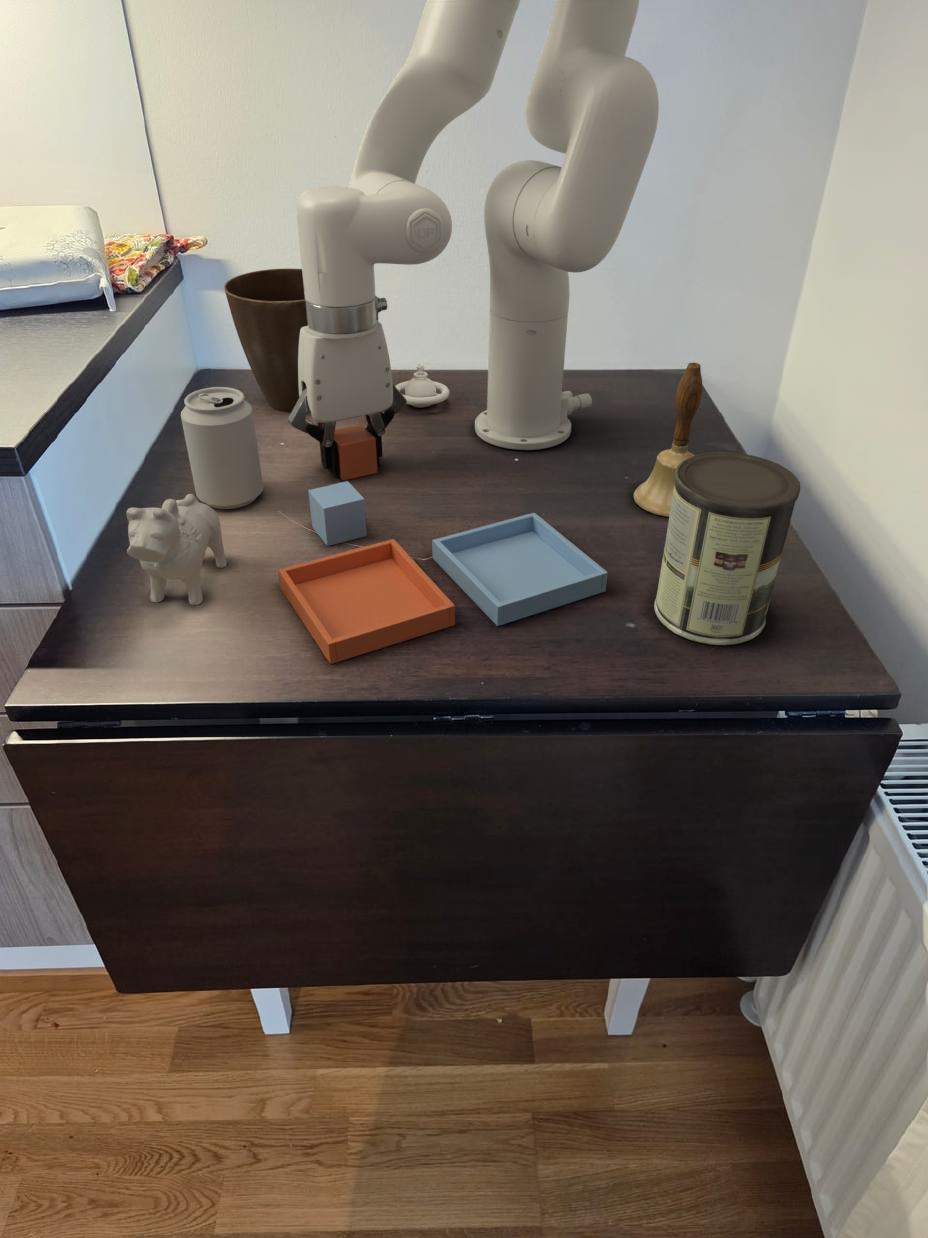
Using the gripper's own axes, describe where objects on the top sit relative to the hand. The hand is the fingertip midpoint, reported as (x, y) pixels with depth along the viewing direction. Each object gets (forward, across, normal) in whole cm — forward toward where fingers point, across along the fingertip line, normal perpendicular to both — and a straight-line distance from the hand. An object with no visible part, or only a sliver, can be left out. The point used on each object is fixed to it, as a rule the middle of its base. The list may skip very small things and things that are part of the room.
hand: (352, 466), depth 105 cm
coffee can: (+1, -18, +43) cm, 47 cm away
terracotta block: (0, 0, 0) cm, 0 cm away
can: (+1, +15, 0) cm, 15 cm away
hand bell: (+1, -29, +24) cm, 38 cm away
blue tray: (0, -6, +29) cm, 30 cm away
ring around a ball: (+1, -16, -14) cm, 21 cm away
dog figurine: (+1, +24, +16) cm, 29 cm away
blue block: (0, +7, +13) cm, 15 cm away
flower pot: (+1, -1, -23) cm, 23 cm away
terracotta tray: (0, +10, +27) cm, 29 cm away
